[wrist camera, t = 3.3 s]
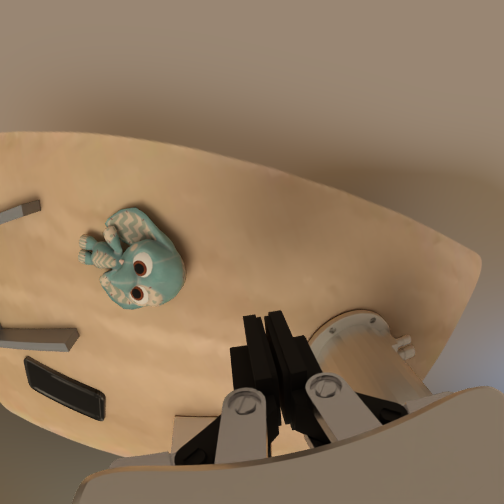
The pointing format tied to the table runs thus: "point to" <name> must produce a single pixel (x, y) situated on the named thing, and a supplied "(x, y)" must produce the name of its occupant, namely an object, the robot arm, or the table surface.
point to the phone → (65, 390)
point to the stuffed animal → (135, 261)
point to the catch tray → (34, 337)
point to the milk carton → (187, 429)
